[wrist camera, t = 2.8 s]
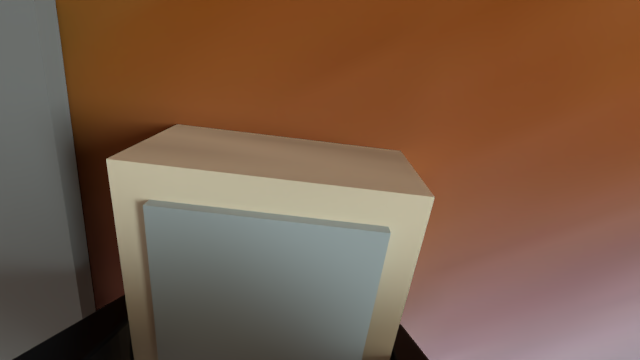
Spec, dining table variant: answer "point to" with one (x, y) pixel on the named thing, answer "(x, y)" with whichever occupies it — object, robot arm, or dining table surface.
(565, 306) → the dining table surface
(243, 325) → the framed mirror
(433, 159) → the dining table surface
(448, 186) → the dining table surface
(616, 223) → the dining table surface
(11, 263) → the grey rectangular board
